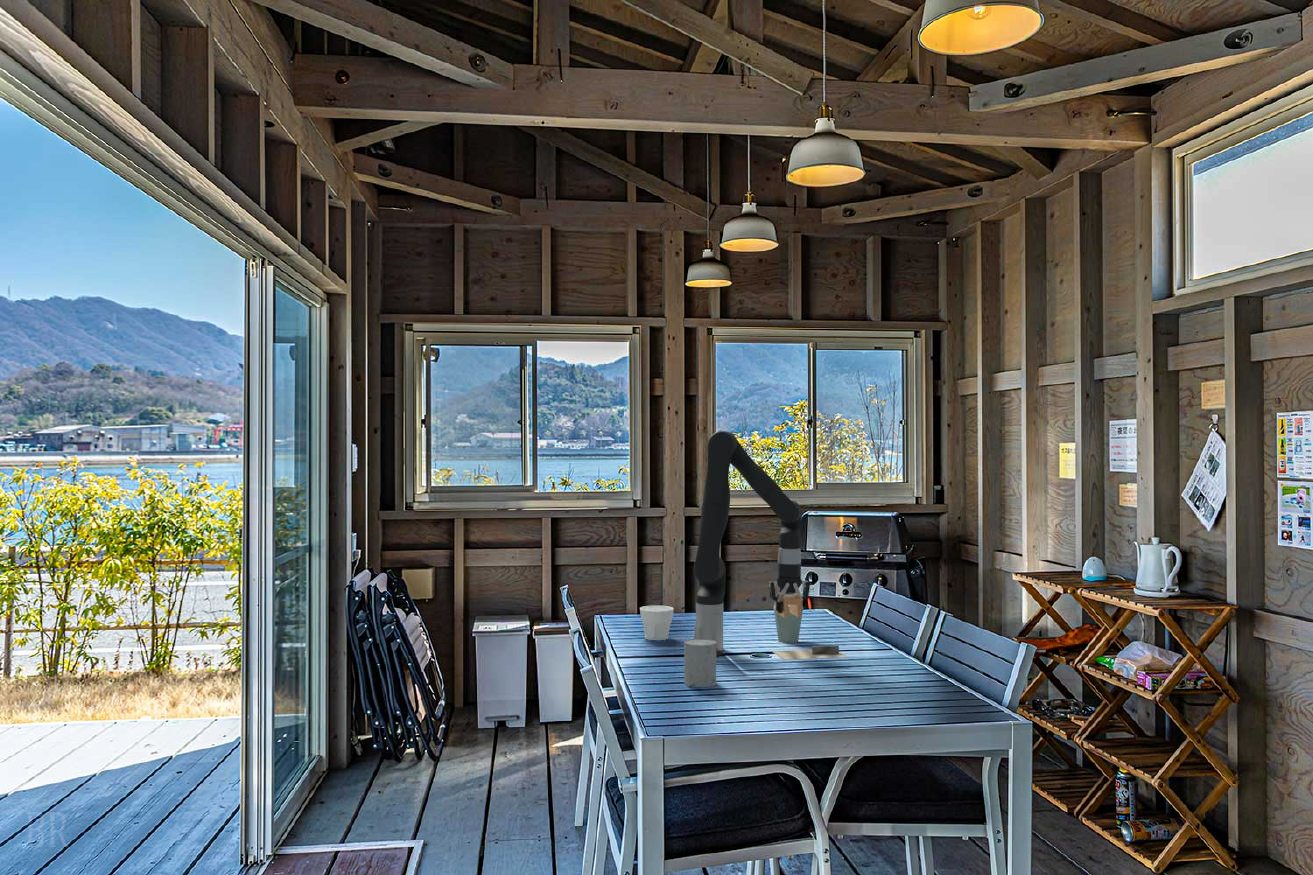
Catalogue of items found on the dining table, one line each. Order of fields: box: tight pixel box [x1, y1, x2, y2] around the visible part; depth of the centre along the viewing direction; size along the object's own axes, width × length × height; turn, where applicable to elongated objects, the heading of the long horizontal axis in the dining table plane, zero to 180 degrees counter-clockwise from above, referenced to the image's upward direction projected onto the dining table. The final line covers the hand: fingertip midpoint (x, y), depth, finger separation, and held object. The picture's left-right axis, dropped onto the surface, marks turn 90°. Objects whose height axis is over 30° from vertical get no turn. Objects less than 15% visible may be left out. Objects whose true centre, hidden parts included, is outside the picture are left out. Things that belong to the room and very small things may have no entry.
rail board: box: [771, 644, 848, 660], centre depth 311 cm, size 22×12×4 cm, turn 100°
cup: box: [639, 605, 675, 641], centre depth 343 cm, size 12×12×11 cm
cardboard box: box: [776, 593, 803, 618], centre depth 310 cm, size 8×6×6 cm
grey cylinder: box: [683, 638, 717, 688], centre depth 278 cm, size 10×10×12 cm
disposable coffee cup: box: [773, 601, 804, 644], centre depth 333 cm, size 11×11×15 cm
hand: (788, 612), depth 310 cm, fingers closed on cardboard box, 6 cm apart
